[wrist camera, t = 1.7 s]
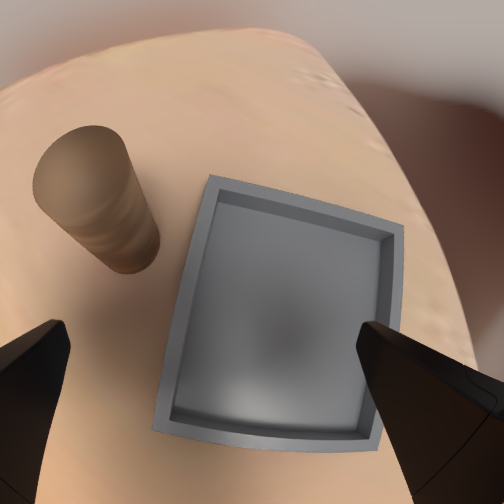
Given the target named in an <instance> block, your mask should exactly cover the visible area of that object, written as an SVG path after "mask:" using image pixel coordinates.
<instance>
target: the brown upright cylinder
mask: <svg viewBox="0 0 504 504" xmlns="http://www.w3.org/2000/svg"><path fill="white" fill-rule="evenodd" d="M33 194H34V198H35V201H36V203H37V204H38V206H39V207H40V208H41V209H42V211H44V212H45V213H46V214H47V215H48V216H49V217H50V218H51V219H52V220H53V221H55V222H56V223H57V224H58V225H59V226H60V227H61V228H62V229H64V230H65V231H66V232H67V233H68V234H69V235H70V236H72V237H73V238H74V239H75V240H76V241H77V242H79V243H80V244H81V245H82V246H83V247H85V248H86V249H87V250H88V251H89V252H91V253H92V254H93V255H94V256H96V257H97V258H98V259H99V260H100V261H102V262H103V263H104V264H105V265H107V266H108V267H109V268H111V269H112V270H114V271H116V272H118V273H121V274H134V273H137V272H140V271H142V270H144V269H145V268H146V267H148V266H149V265H150V264H151V263H152V262H153V260H154V259H155V257H156V255H157V253H158V250H159V246H160V236H159V232H158V229H157V226H156V224H155V222H154V219H153V217H152V214H151V212H150V210H149V207H148V205H147V202H146V200H145V197H144V195H143V192H142V190H141V187H140V184H139V182H138V179H137V177H136V174H135V171H134V169H133V166H132V163H131V161H130V158H129V155H128V152H127V150H126V147H125V144H124V142H123V140H122V139H121V137H120V136H119V135H118V134H117V133H116V132H115V131H113V130H111V129H109V128H107V127H103V126H85V127H80V128H77V129H74V130H72V131H70V132H68V133H66V134H65V135H63V136H62V137H60V138H59V139H57V140H56V141H55V142H54V143H53V144H52V145H51V146H50V147H49V148H48V149H47V150H46V152H45V153H44V154H43V156H42V157H41V159H40V161H39V163H38V165H37V167H36V170H35V173H34V178H33Z"/></svg>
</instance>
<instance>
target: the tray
mask: <svg viewBox="0 0 504 504" xmlns="http://www.w3.org/2000/svg"><path fill="white" fill-rule="evenodd" d="M403 272H404V225H401V224H398V223H394V222H391V221H388V220H385V219H382V218H378V217H375V216H372V215H369V214H365V213H362V212H359V211H355V210H352V209H348V208H345V207H341V206H338V205H334V204H331V203H327V202H323V201H320V200H316V199H312V198H308V197H305V196H301V195H297V194H293V193H289V192H285V191H281V190H277V189H273V188H269V187H264V186H260V185H256V184H252V183H247V182H243V181H238V180H234V179H229V178H225V177H220V176H215V175H210V174H209V177H208V181H207V184H206V187H205V191H204V194H203V198H202V201H201V205H200V209H199V212H198V216H197V219H196V223H195V227H194V231H193V234H192V238H191V242H190V246H189V250H188V254H187V258H186V262H185V266H184V270H183V274H182V278H181V282H180V286H179V291H178V295H177V299H176V304H175V308H174V313H173V317H172V322H171V327H170V331H169V336H168V341H167V346H166V351H165V356H164V361H163V366H162V372H161V377H160V383H159V388H158V394H157V400H156V406H155V412H154V418H153V425H152V430H154V431H158V432H162V433H166V434H170V435H174V436H178V437H183V438H188V439H193V440H198V441H203V442H208V443H214V444H220V445H227V446H234V447H242V448H250V449H259V450H270V451H284V452H307V453H342V452H365V451H377V450H378V446H379V442H380V438H381V434H382V430H383V426H384V424H383V422H382V420H381V417H380V415H379V413H378V410H377V408H376V405H375V403H374V401H373V398H372V396H371V394H370V391H369V389H368V386H367V383H366V380H365V376H364V373H363V370H362V367H361V364H360V360H359V357H358V354H357V351H356V341H357V338H358V335H359V331H360V328H361V325H362V323H363V322H365V321H377V322H379V323H381V324H383V325H385V326H387V327H389V328H391V329H393V330H395V331H397V332H399V330H400V320H401V308H402V293H403Z"/></svg>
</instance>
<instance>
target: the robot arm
mask: <svg viewBox="0 0 504 504" xmlns="http://www.w3.org/2000/svg"><path fill="white" fill-rule="evenodd" d="M70 349H71V344H70V340H69V337H68V334H67V330H66V327H65V324H64V322H63V321H62V320H55V319H51V320H49V321H47V322H45V323H43V324H41V325H39V326H38V327H36V328H34V329H32V330H31V331H29V332H27V333H25V334H23V335H22V336H20V337H18V338H16V339H15V340H13V341H11V342H9V343H8V344H6V345H4V346H2V347H1V348H0V504H35V498H36V492H37V486H38V480H39V475H40V470H41V465H42V460H43V456H44V451H45V447H46V443H47V439H48V435H49V431H50V427H51V424H52V420H53V416H54V413H55V409H56V406H57V403H58V400H59V396H60V393H61V389H62V385H63V380H64V375H65V371H66V366H67V362H68V358H69V354H70ZM356 351H357V354H358V357H359V360H360V364H361V367H362V370H363V373H364V376H365V380H366V383H367V386H368V389H369V391H370V394H371V396H372V398H373V401H374V403H375V405H376V408H377V410H378V413H379V415H380V417H381V420H382V422H383V424H384V427H385V429H386V432H387V434H388V437H389V439H390V442H391V444H392V447H393V449H394V452H395V454H396V457H397V459H398V462H399V464H400V467H401V470H402V472H403V475H404V477H405V480H406V483H407V485H408V488H409V491H410V494H411V496H412V500H413V502H414V504H504V382H501V381H499V380H496V379H494V378H492V377H489V376H487V375H485V374H482V373H480V372H478V371H476V370H474V369H472V368H470V367H468V366H466V365H463V364H462V363H460V362H458V361H456V360H454V359H452V358H449V357H447V356H445V355H443V354H441V353H439V352H437V351H435V350H433V349H431V348H429V347H427V346H425V345H423V344H421V343H419V342H417V341H415V340H413V339H411V338H409V337H407V336H405V335H403V334H401V333H399V332H397V331H395V330H393V329H391V328H389V327H387V326H385V325H383V324H381V323H379V322H377V321H365V322H363V323H362V325H361V328H360V331H359V335H358V338H357V341H356Z"/></svg>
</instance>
